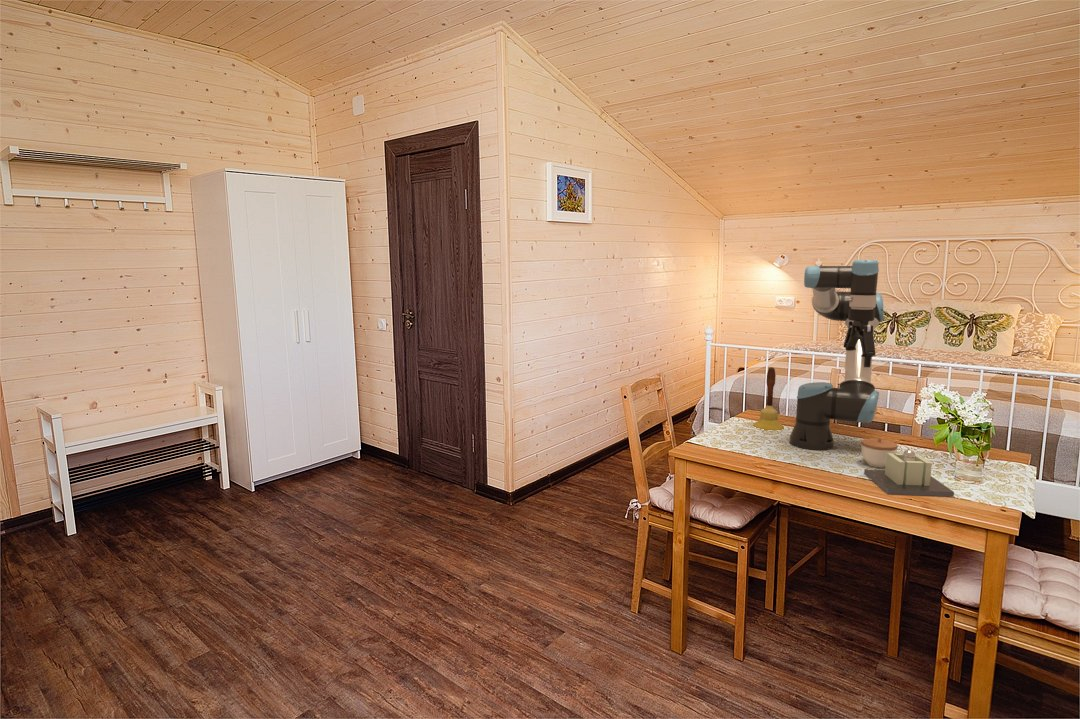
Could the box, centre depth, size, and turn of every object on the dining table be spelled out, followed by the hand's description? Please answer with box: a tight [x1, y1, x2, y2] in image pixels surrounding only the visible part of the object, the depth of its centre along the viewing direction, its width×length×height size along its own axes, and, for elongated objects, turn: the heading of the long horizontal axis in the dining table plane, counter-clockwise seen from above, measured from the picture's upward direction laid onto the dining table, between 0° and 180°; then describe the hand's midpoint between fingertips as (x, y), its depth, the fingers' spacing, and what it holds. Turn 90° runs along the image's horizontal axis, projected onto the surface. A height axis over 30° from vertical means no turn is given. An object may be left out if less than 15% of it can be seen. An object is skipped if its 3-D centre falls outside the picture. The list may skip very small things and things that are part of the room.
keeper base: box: [863, 449, 955, 498], centre depth 188 cm, size 18×18×11 cm
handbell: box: [752, 366, 785, 431], centre depth 254 cm, size 12×12×25 cm
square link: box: [884, 453, 933, 486], centre depth 188 cm, size 9×9×7 cm
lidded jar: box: [860, 437, 899, 469], centre depth 207 cm, size 11×11×9 cm
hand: (856, 373), depth 201 cm, fingers open, 13 cm apart
